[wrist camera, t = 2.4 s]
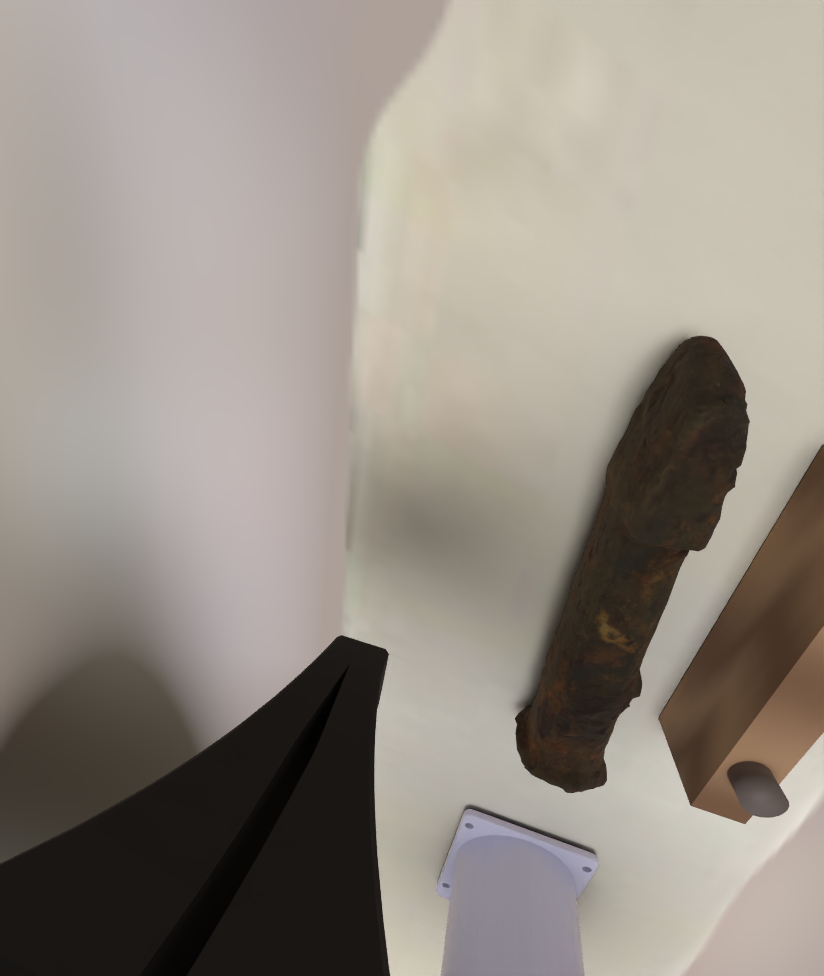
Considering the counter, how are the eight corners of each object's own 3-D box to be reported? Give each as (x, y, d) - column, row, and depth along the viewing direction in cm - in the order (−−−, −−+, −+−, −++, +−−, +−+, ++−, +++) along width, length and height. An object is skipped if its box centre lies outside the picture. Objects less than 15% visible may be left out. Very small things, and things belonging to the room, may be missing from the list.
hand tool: (590, 729, 21) (610, 828, 17) (513, 706, 22) (514, 797, 18) (769, 351, 14) (882, 361, 10) (646, 331, 15) (702, 333, 10)
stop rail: (702, 731, 20) (759, 854, 15) (658, 718, 20) (701, 833, 15) (887, 458, 14) (1066, 520, 9) (823, 444, 14) (966, 499, 10)
